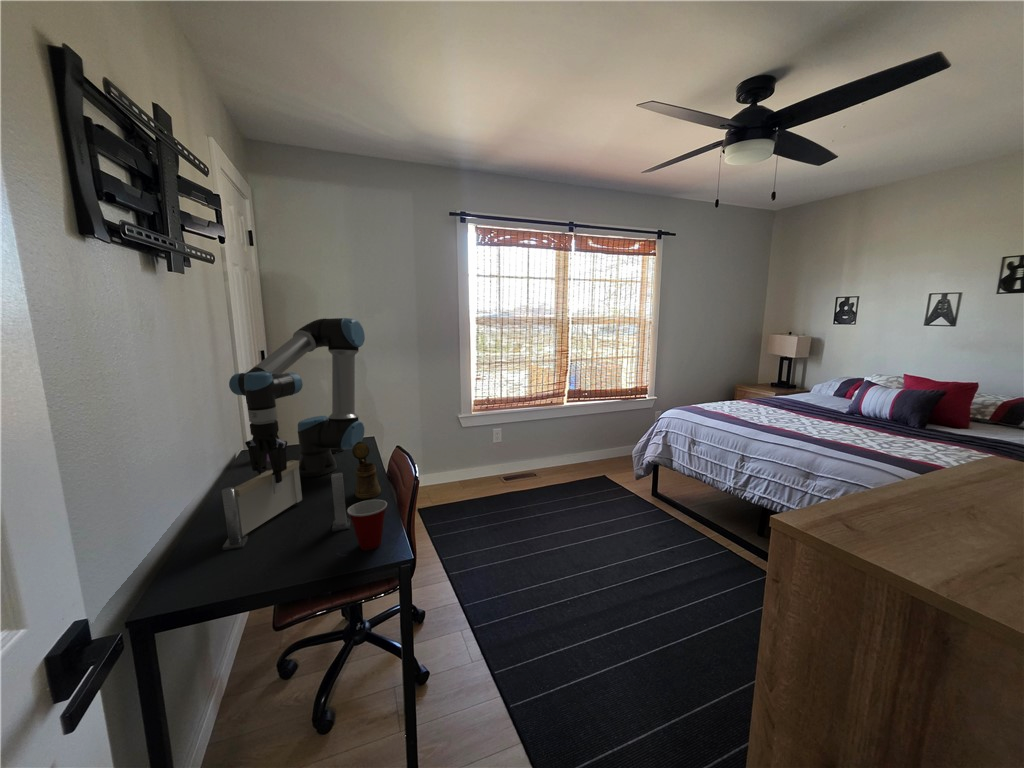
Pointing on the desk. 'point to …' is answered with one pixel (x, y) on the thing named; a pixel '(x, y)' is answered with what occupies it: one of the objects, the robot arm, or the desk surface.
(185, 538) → the desk surface
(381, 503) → the plastic cup
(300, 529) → the desk surface
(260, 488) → the gate
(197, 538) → the desk surface
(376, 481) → the brown disc-topped figurine
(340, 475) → the gate frame
